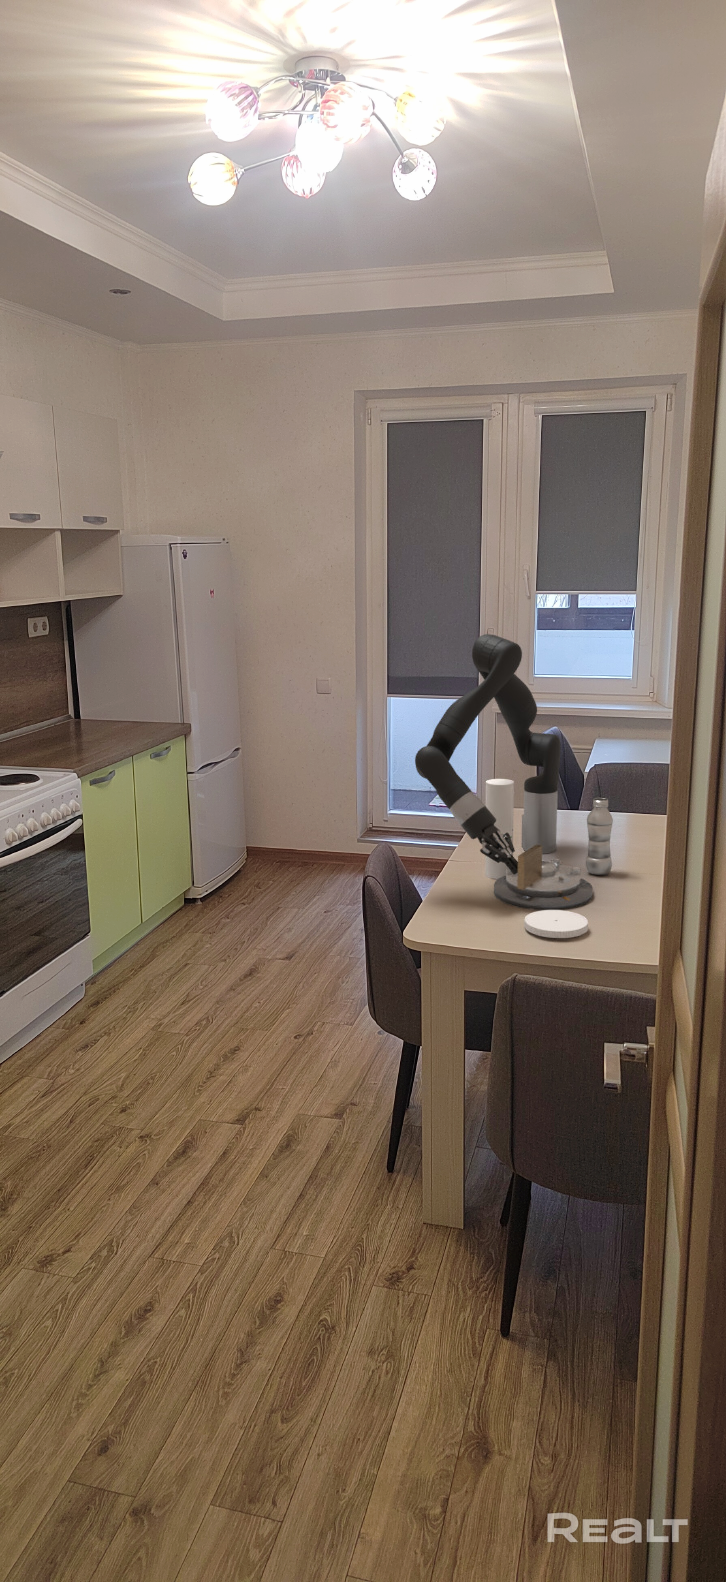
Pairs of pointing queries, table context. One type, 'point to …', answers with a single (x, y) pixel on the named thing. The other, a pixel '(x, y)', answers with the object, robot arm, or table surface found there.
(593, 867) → the plastic bottle
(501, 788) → the cylindrical container
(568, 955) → the table surface
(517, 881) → the round mechanism with board
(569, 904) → the base plate
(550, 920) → the plastic lid
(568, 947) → the table surface
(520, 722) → the robot arm
